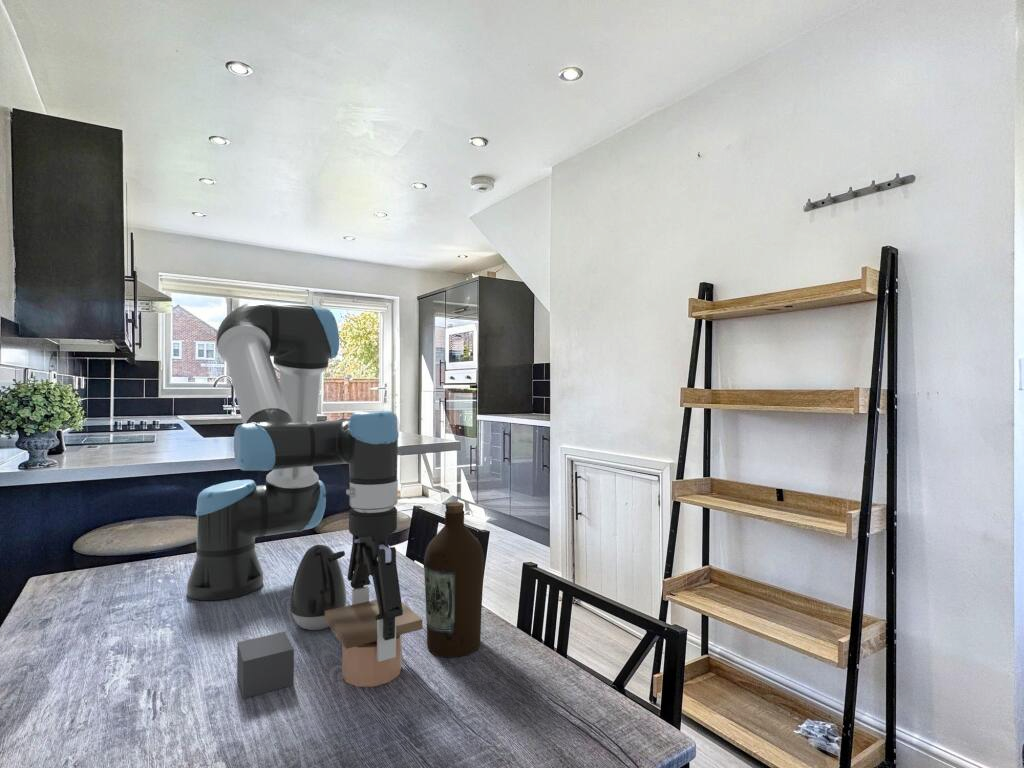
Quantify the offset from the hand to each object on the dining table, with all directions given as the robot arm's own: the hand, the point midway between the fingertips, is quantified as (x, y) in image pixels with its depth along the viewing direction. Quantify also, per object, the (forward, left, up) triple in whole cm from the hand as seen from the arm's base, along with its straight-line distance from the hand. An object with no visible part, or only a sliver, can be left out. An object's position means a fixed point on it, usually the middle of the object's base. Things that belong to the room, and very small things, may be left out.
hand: (372, 641), depth 88 cm
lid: (0, 0, +3) cm, 3 cm away
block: (-6, -15, -5) cm, 17 cm away
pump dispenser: (-22, -3, -5) cm, 23 cm away
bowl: (0, 0, -5) cm, 5 cm away
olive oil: (-1, +15, -5) cm, 16 cm away
